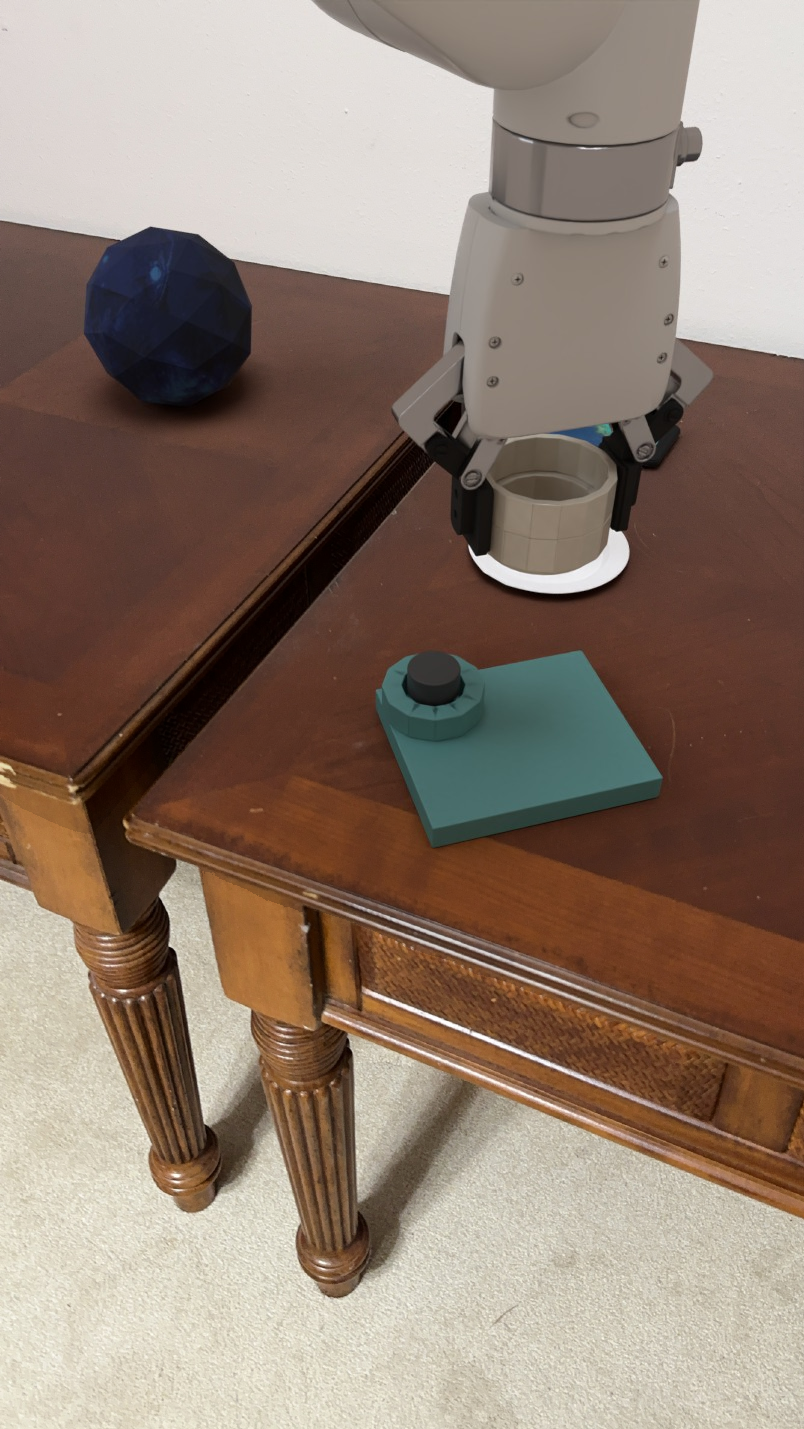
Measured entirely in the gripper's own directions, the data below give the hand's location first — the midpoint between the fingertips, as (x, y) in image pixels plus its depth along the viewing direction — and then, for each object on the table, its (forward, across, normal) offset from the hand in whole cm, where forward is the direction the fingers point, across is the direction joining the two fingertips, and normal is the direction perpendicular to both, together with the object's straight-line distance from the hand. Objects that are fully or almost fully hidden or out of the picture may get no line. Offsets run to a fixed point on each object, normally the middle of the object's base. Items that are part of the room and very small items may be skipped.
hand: (541, 527), depth 58 cm
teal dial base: (+16, +1, +1) cm, 16 cm away
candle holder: (+16, -9, -18) cm, 26 cm away
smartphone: (+16, -19, -34) cm, 42 cm away
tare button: (+12, +5, -3) cm, 14 cm away
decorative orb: (+16, +14, -51) cm, 55 cm away
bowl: (+1, 0, 0) cm, 1 cm away
